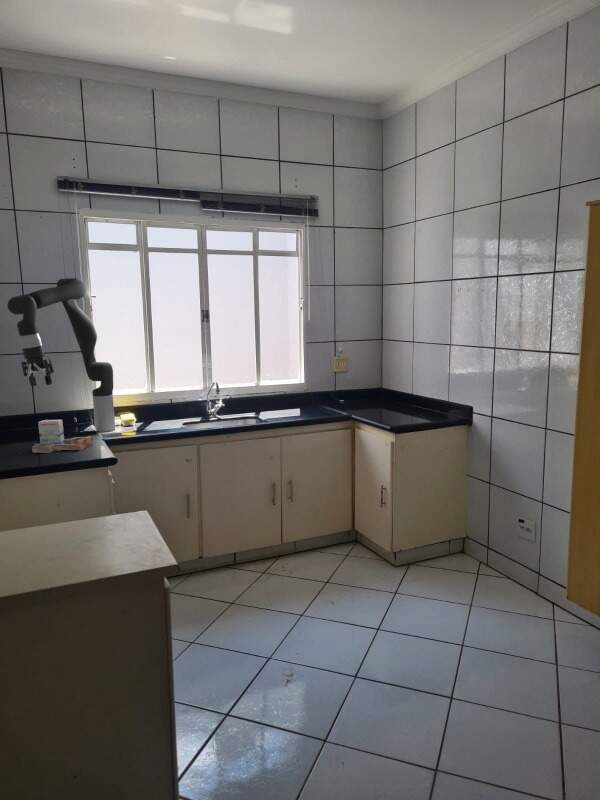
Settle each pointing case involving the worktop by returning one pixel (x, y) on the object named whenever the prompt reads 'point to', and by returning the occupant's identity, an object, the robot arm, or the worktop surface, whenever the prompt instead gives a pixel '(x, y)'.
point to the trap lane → (64, 445)
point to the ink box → (51, 432)
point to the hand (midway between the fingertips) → (41, 385)
